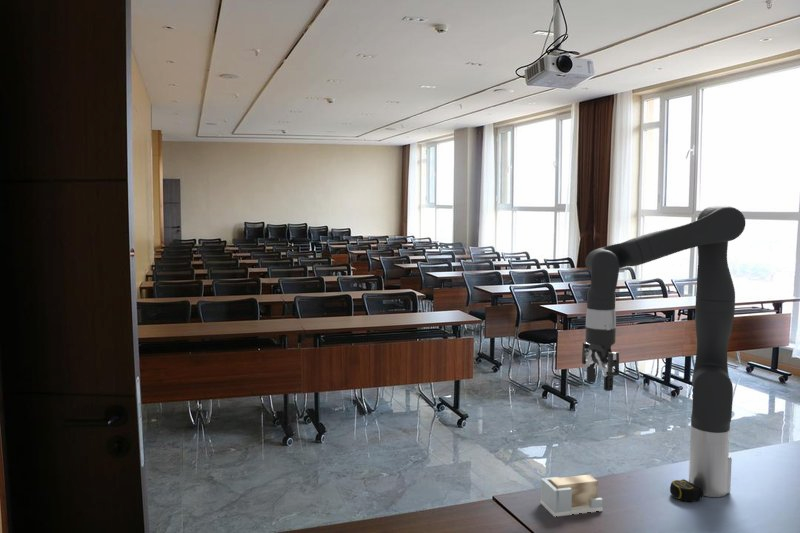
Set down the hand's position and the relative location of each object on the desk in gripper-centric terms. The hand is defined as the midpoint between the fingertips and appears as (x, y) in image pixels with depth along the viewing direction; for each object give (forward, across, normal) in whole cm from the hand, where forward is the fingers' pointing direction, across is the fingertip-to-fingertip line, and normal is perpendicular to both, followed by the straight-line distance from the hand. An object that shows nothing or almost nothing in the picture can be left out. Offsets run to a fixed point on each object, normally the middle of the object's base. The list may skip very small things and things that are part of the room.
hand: (599, 386), depth 168 cm
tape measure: (+28, +10, +20) cm, 36 cm away
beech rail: (+27, +8, -12) cm, 30 cm away
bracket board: (+28, +8, -12) cm, 31 cm away
